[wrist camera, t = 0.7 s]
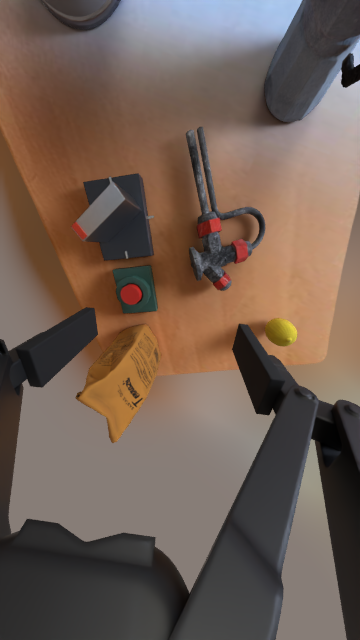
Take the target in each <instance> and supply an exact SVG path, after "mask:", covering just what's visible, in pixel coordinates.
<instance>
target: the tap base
mask: <svg viewBox="0 0 360 640" xmlns="http://www.w3.org/2000/svg"><path fill="white" fill-rule="evenodd" d="M112 182H114V183H115V184H117V185H118V186H119V187H120V188H122V189H123V190H124V191H125V192H126V193H128V194H129V195H130V196H131V197H133V199H134V200H135V202H136V203H137V205H138V206H139V208H140V209H141V212H140V213H139V214H137V215H136V216H135V217H134V218H133V219H132V220H131V221H130V222H129V223H128V224H127V225H126V226H125V227H124V228H123V229H122V230H120V231H119V232H118V233H117V234H116V235H115V236H114V237H113V238H112V239H111V240H110V241H109V242H108V243H106V242H99V243H100V247H101V251H102V254H103V258H104V261H105V260H115V259H124V258H126V259H128V258H134V257H143V256H152V255H154V251H153V245H152V238H151V232H150V225H149V219H150V218H154V216H148V212H147V205H146V198H145V192H144V185H143V179H142V177H141V176H140V175H139V173H138V174H131V175H125V176H119V177H113V178H111V177H109V178H106V179H100V180H94V181H87V182H83V183H84V187H85V190H86V194H87V198H88V202H89V205H91V204H92V203H93V202H94V201H95V200H96V199H97V198H98V197H99V196H100V195H101V193H102V192H103V191H104V190H105V189H106V188H107V187H108V186H109V185H110V184H111V183H112Z"/></svg>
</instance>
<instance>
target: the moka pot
mask: <svg viewBox="0 0 360 640" xmlns="http://www.w3.org/2000/svg"><path fill="white" fill-rule="evenodd" d="M359 40H360V0H303V1H302V3H301V5H300V7H299V9H298V11H297V13H296V14H295V16H294V18H293V20H292V22H291V24H290V26H289V28H288V30H287V32H286V34H285V36H284V37H283V39H282V41H281V43H280V45H279V47H278V48H277V50H276V52H275V54H274V57H273V59H272V62H271V65H270V68H269V71H268V74H267V77H266V81H265V97H266V102H267V106H268V108H269V110H270V112H271V113H272V115H273V116H275V117H276V118H277V119H279V120H281V121H284V122H290V121H297V120H301V119H303V118H304V117H305V116H306V115H307V114H308V113H310V112H311V111H312V110H313V109H314V107H315V106H316V105H317V104H318V103H319V102H320V101H321V99H322V98H323V96H324V95H325V93H326V91H327V90H328V88H329V87H330V85H331V84H332V82H333V80H334V79H335V77H336V75H337V74H338V73H339V71H340V69H341V70H342V80H341V84H342V85H343V87H345V88H347V87H348V86H350V85H351V84H354V83H355V82H357V81H359V80H360V64H359V65H358V66H356V67H354V64H353V63H354V56H353V54H351V52H352V51H353V49H354V48H355V46H356V45H357V43H358V41H359Z"/></svg>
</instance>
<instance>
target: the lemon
mask: <svg viewBox="0 0 360 640" xmlns="http://www.w3.org/2000/svg"><path fill="white" fill-rule="evenodd" d="M265 333H266V336H267V338H268V339H269V340H270V341H271V342H272V343H274V344H276V345H278V346H288V345H291V344H292V343H294V342H295V340H296V338H297V331H296V329H295V327H294V326H293V325H292V324H291V323H290V322H289V321H287V320H285V319H281V318H276V319H273V320H271V321H269V322H268V323H267V325H266V327H265Z"/></svg>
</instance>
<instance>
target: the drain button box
mask: <svg viewBox="0 0 360 640" xmlns="http://www.w3.org/2000/svg"><path fill="white" fill-rule="evenodd" d="M113 274H114V278H115V282H116V286H117V288H116V294H117V298H118V300H119V301H120V302H121V306H122V310H123V313H137V312H151V311H157V309H158V306H157V299H156V293H155V287H154V281H153V275H152V268H151V265H149V266H139V267H129V268H119V269H114V270H113ZM129 284H135V285H137V286H138V287H139V288H140V289H141V291H142V297H141V299H140V300H139V301H138V302H137V303H136V304H134V305H129V304H127V303H125V302H124V301H123V300H122V298H121V290H122V288H123V287H125V286H127V285H129Z"/></svg>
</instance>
